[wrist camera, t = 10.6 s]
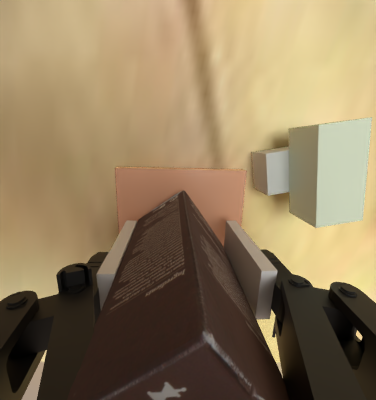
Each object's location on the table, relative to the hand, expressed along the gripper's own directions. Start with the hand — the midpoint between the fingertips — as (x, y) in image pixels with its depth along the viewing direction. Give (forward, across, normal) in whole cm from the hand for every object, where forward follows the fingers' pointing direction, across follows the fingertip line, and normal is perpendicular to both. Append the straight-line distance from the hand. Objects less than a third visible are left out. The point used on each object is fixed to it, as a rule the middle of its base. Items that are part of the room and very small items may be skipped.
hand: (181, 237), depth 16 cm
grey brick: (+3, +9, +5) cm, 11 cm away
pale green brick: (0, +9, +5) cm, 10 cm away
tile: (+2, 0, 0) cm, 2 cm away
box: (+1, 0, 0) cm, 1 cm away
